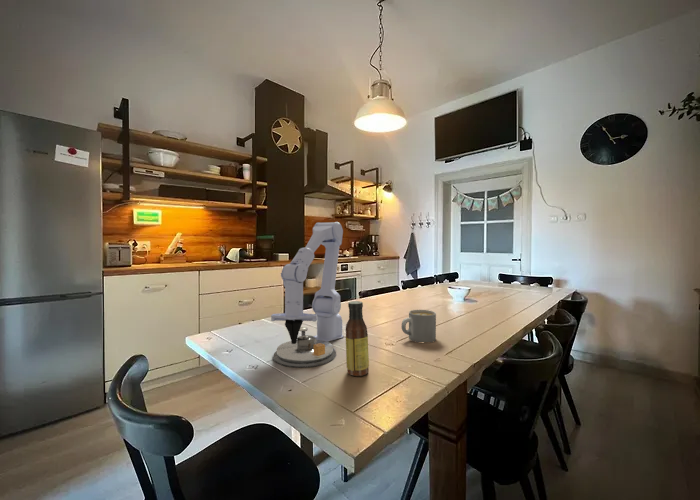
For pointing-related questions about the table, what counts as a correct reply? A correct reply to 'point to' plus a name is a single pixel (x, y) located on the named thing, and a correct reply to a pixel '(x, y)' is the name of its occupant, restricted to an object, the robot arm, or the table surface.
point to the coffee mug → (420, 325)
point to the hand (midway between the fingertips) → (294, 342)
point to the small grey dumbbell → (303, 330)
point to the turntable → (304, 352)
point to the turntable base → (303, 365)
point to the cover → (305, 343)
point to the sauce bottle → (356, 341)
